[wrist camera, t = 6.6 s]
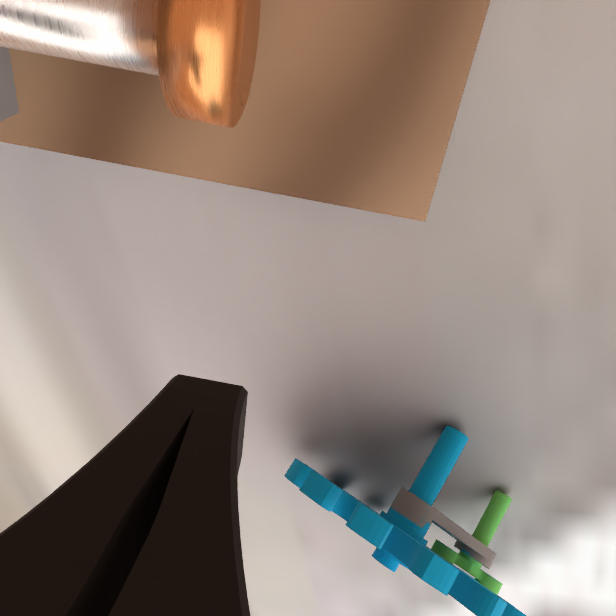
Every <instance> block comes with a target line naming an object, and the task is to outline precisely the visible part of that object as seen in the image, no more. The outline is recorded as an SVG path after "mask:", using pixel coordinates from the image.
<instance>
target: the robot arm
mask: <svg viewBox="0 0 616 616" xmlns="http://www.w3.org/2000/svg"><path fill="white" fill-rule="evenodd" d="M247 394H248V392H247V391H246V390H245V389H244V387H243V386H239V385H233V384H228V383H223V382H217V381H212V380H207V379H201V378H196V377H190V376H185V375H180V374H179V375H177V376H175V377H173V378H172V379H171V380H170V382H169V383H168V384H167V385H166V386H165V387H164V388H163V389H162V390H161V391H160V392H159V394H158V395H157V396H156V397H155V398H154V399H153V400H152V401H151V402H150V403H149V404H148V405H147V406H146V407H145V408H144V409H143V410H142V411H141V412H140V413H139V414H138V415H137V416H136V417H135V418H134V419H133V420H132V421H131V422H130V423H129V424H128V425H127V426H126V427H125V428H124V429H123V430H122V431H121V432H120V433H119V434H118V435H117V436H116V437H115V438H114V439H113V440H111V441H110V442H109V443H108V444H107V445H106V446H105V447H104V448H103V449H102V450H101V451H100V452H99V453H98V454H97V455H96V456H94V457H93V458H92V459H91V460H90V461H89V462H88V463H87V464H85V465H84V466H83V467H82V468H81V469H80V470H78V471H77V472H76V473H75V474H74V475H73V476H71V477H70V478H69V479H68V480H67V481H66V482H64V483H63V484H62V485H61V486H60V487H59V488H57V489H56V490H55V491H54V492H53V493H52V494H50V495H49V496H48V497H47V498H45V499H44V500H43V501H42V502H40V503H39V504H38V505H37V506H35V507H34V508H33V509H32V510H30V511H29V512H28V513H27V514H25V515H24V516H23V517H21V518H20V519H19V520H18V521H16V522H15V523H14V524H12V525H11V526H10V527H8V528H7V529H6V530H4V531H3V532H2V533H0V616H250V611H249V605H248V598H247V591H246V583H245V576H244V568H243V559H242V549H241V539H240V526H239V512H238V491H237V476H238V471H239V466H240V462H241V457H242V448H243V437H244V426H245V416H246V405H247Z"/></svg>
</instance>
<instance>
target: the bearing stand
mask: <svg viewBox="0 0 616 616" xmlns="http://www.w3.org/2000/svg"><path fill="white" fill-rule="evenodd" d="M489 3H490V0H261V2H260V24H259V36H258V46H257V54H256V61H255V67H254V73H253V78H252V83H251V87H250V92H249V96H248V99H247V102H246V106H245V109H244V111H243V114H242V116H241V118H240V120H239V122H238V123H237V124H236V125H235V126H234V127H232V128H231V127H225V126H220V125H215V124H209V123H204V122H198V121H193V120H188V119H182V118H178V117H175V116H174V115H173V114H172V113H171V112H170V110H169V108H168V106H167V104H166V102H165V99H164V96H163V92H162V88H161V83H160V77H159V76H158V75H152V74H147V73H142V72H136V71H131V70H125V69H120V68H114V67H109V66H103V65H98V64H93V63H87V62H82V61H76V60H71V59H65V58H60V57H54V56H49V55H44V54H38V53H33V52H27V51H22V50H16V49H11V48H5V47H0V141H1V142H6V143H11V144H17V145H22V146H27V147H33V148H38V149H43V150H49V151H54V152H59V153H64V154H70V155H75V156H80V157H86V158H91V159H96V160H102V161H107V162H112V163H117V164H123V165H128V166H133V167H139V168H144V169H149V170H155V171H160V172H165V173H170V174H176V175H181V176H186V177H192V178H197V179H202V180H208V181H213V182H218V183H223V184H229V185H234V186H239V187H245V188H250V189H255V190H261V191H266V192H271V193H276V194H282V195H287V196H292V197H298V198H303V199H308V200H314V201H319V202H324V203H329V204H335V205H340V206H345V207H351V208H356V209H361V210H367V211H372V212H377V213H382V214H388V215H393V216H398V217H404V218H409V219H414V220H419V221H425V220H426V217H427V213H428V210H429V206H430V203H431V200H432V196H433V193H434V190H435V186H436V183H437V179H438V176H439V173H440V169H441V166H442V162H443V159H444V156H445V152H446V149H447V145H448V142H449V139H450V135H451V132H452V128H453V125H454V122H455V118H456V115H457V111H458V108H459V105H460V101H461V98H462V94H463V91H464V88H465V84H466V81H467V77H468V74H469V71H470V67H471V64H472V60H473V57H474V54H475V50H476V47H477V43H478V40H479V37H480V33H481V30H482V27H483V23H484V20H485V16H486V13H487V10H488V6H489Z"/></svg>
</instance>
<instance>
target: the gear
mask: <svg viewBox="0 0 616 616" xmlns="http://www.w3.org/2000/svg"><path fill="white" fill-rule="evenodd" d="M467 441H468V437H467V436H466V435H464V434H463V433H461V432H460V431H458V430H456V429H455V428H453V427H450V426H446V427H445V428H444V430H443V432H442V434H441V435H440V437H439V439H438V441H437V442H436V444H435V446H434V448H433V449H432V451H431V453H430V455H429V456H428V458H427V460H426V462H425V464H424V465H423V467H422V469H421V471H420V472H419V474H418V476H417V478H416V479H415V481H414V483H413V485H412V486H411V488H410V490H409V491H408V490H406V489H404V488H401V490H400V491H399V493H398V495H397V497H396V498H395V500H394V502H393V503H392V505H391V507H390V509H389V510H388V512H387V513H385V512H384V511H382V512H381V514H378V513H377V512H375V511H374V510H372V509H371V508H370V507H368V506H367V505H365V504H363V503H362V502H360V501H359V500H357V499H356V498H355V497H353V496H352V495H350V494H349V493H347V492H346V491H344V490H343V489H341V488H340V487H339V486H337V485H336V484H334V483H333V482H331V481H330V480H328V479H326V478H325V477H323V476H322V475H320V474H319V473H318V472H316V471H315V470H313V469H312V468H310V467H309V466H307V465H306V464H304V463H302V462H301V461H299V460H298V459H296V458H295V460H294V462H293V463H292V465H291V466H290V468H289V469H288V471H287V473H286V474H285V477H286V478H287V479H288V480H290V481H291V482H292V483H293V484H295V485H296V486H298V487H299V488H300V489H299V490H300V491H301V492H303V493H304V494H305V495H307V496H308V497H309V498H311V499H312V500H313V501H315V502H316V503H317V504H319V505H320V506H322V507H323V508H325V509H326V510H328V511H333V512H334V513H336V514H337V515H339V516H340V517H342V518H343V519H344V520H346V521H347V523H346V526H347V527H349V528H350V529H351V530H353V531H354V532H356V533H357V534H359V535H360V536H361V537H363V538H364V539H366V540H367V541H368V542H370V543H371V544H373V545H374V546H376V547H377V548H376V550H375V551H374V553H373V555H372V556H373V557H374V558H375V559H376V560H377V561H379V562H380V563H381V564H383V565H384V566H386V567H387V568H389V569H390V570H392V571H393V572H395V571H396V569H397V567H398V565H399V564H401V565H403V566H404V567H406V568H408V569H409V570H410V571H412V572H413V573H414V574H415V575H417V576H418V577H419V578H421V579H422V580H423V581H425V582H426V583H428V584H429V585H431V586H432V587H434V588H435V589H437V590H439V591H440V592H442V593H443V594H445V595H446V596H447V594H449V595H451V596H452V597H453V598H454V599H456V600H457V601H458V602H460V603H461V604H462V605H464V606H465V607H466V608H467V609H469V610H470V611H471V612H473V613H474V614H475V615H477V616H526V615H525V614H523V613H522V612H520V611H519V610H518V609H516V608H515V607H514V606H512V605H511V604H509V603H508V602H507V601H505V600H504V599H502V598H501V597H499V596H498V595H497V594H498V592H499V590H500V588H501V586H502V583H500V582H499V581H497V580H496V579H494V578H493V577H491V576H490V575H488V574H487V573H485V572H484V571H482V570H481V569H480V568H481V566H482V565H483V566H485V567H486V568H488V569H489V568H490V566H491V564H492V562H493V560H494V558H495V556H496V553H495V552H493V551H492V550H491V549H489V548H488V547H487V546H488V544H489V543H490V541H491V539H492V537H493V535H494V533H495V531H496V529H497V527H498V525H499V523H500V521H501V519H502V517H503V515H504V514H505V512H506V510H507V508H508V506H509V504H510V502H511V500H512V499H511V498H510V497H509V496H507V495H505V494H504V493H502V492H500V491H498V490H496V491H495V493H494V495H493V497H492V499H491V501H490V503H489V505H488V506H487V508H486V510H485V512H484V514H483V516H482V518H481V520H480V522H479V523H478V525H477V527H476V529H475V531H474V533H473V535H470V534H469V533H468V532H466V531H465V530H464V529H462V528H461V527H459V526H458V525H457V524H455V523H454V522H453V521H451V520H450V519H449V518H447V517H446V516H445V515H443V514H442V513H441V512H439V511H438V510H436V509H435V508H434V507H432V504H433V502H434V501H435V499H436V497H437V495H438V493H439V492H440V490H441V488H442V486H443V484H444V483H445V481H446V479H447V477H448V475H449V474H450V472H451V470H452V468H453V466H454V464H455V463H456V461H457V459H458V457H459V455H460V454H461V452H462V450H463V448H464V446H465V445H466V443H467ZM432 522H433V523H434V524H435V525H437V526H438V527H440V528H441V529H442V530H444V531H445V532H447V533H448V534H449V535H451V536H452V537H454V538H455V539H456V540H457V541H456V543H455V545H454V546H455V547H456V548H458V549H459V550H460V552H459V554H457V553H456V552H455V551H453V550H452V549H450V548H449V547H447V546H446V545H444V544H443V543H441V542H440V541H438V540H437V539H436V541H435V543H434V545H433V546H432V548H431V549H430V548H428V547H427V546H426V544H427V542H428V541H426V540H425V539H423V538H424V536H425V534H426V532H427V531H428V529H429V527H430V525H431V523H432ZM453 563H455V564H456V565H458V566H459V567H461V568H462V569H464V570H465V571H466V572H468V573H469V574H471V575H472V576H474V577H475V579H473V578H472V577H470V576H469V575H468V574H466V573H465V572H463V571H462V570H460V569H459V568H457V567H456V566H454V565H453Z"/></svg>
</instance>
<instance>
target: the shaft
mask: <svg viewBox="0 0 616 616" xmlns="http://www.w3.org/2000/svg"><path fill="white" fill-rule="evenodd" d="M260 2H261V0H0V47H5V48H11V49H16V50H22V51H27V52H33V53H38V54H44V55H49V56H54V57H60V58H65V59H71V60H76V61H82V62H87V63H93V64H98V65H103V66H109V67H114V68H120V69H125V70H131V71H136V72H142V73H147V74H152V75H158V76H159V77H160V83H161V88H162V92H163V96H164V99H165V102H166V104H167V106H168V108H169V110H170V112H171V113H172V114H173V115H174V116H175V117H178V118H182V119H188V120H193V121H198V122H204V123H209V124H215V125H220V126H225V127H231V128H232V127H234V126H235V125H236V124H237V123H238V122H239V120H240V118H241V116H242V114H243V111H244V109H245V106H246V102H247V99H248V96H249V92H250V87H251V83H252V78H253V73H254V67H255V61H256V54H257V46H258V36H259V24H260Z"/></svg>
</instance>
